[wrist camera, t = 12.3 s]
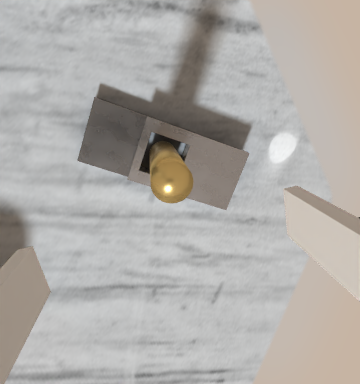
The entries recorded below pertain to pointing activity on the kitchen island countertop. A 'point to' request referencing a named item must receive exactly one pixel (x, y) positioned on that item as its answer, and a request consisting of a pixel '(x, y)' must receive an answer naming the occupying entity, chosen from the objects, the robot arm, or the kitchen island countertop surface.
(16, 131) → the kitchen island countertop surface
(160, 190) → the pin
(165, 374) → the kitchen island countertop surface
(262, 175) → the kitchen island countertop surface
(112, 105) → the slotted metal plate
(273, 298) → the kitchen island countertop surface
